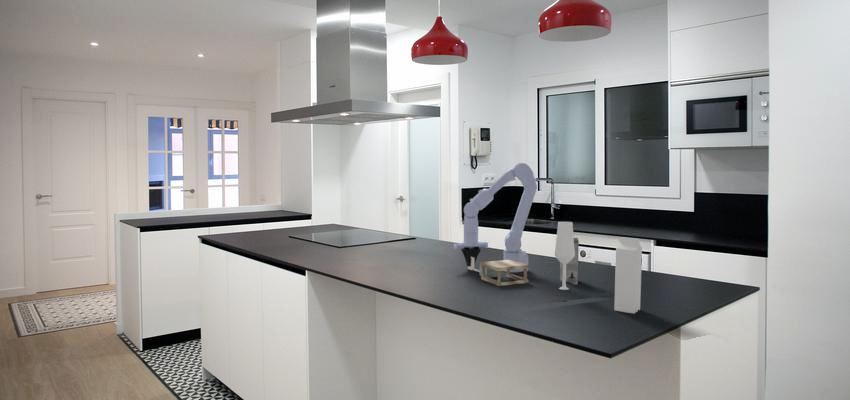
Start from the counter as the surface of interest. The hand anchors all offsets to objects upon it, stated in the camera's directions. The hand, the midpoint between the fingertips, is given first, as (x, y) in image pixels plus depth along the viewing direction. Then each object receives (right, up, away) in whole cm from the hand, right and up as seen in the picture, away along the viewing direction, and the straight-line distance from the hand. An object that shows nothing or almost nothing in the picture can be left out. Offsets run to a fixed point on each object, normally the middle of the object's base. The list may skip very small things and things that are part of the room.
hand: (470, 265), depth 229 cm
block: (+3, -2, -7) cm, 8 cm away
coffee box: (+35, -4, -17) cm, 39 cm away
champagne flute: (+29, -5, -33) cm, 45 cm away
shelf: (+9, -4, -18) cm, 20 cm away
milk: (+43, -7, -57) cm, 72 cm away
